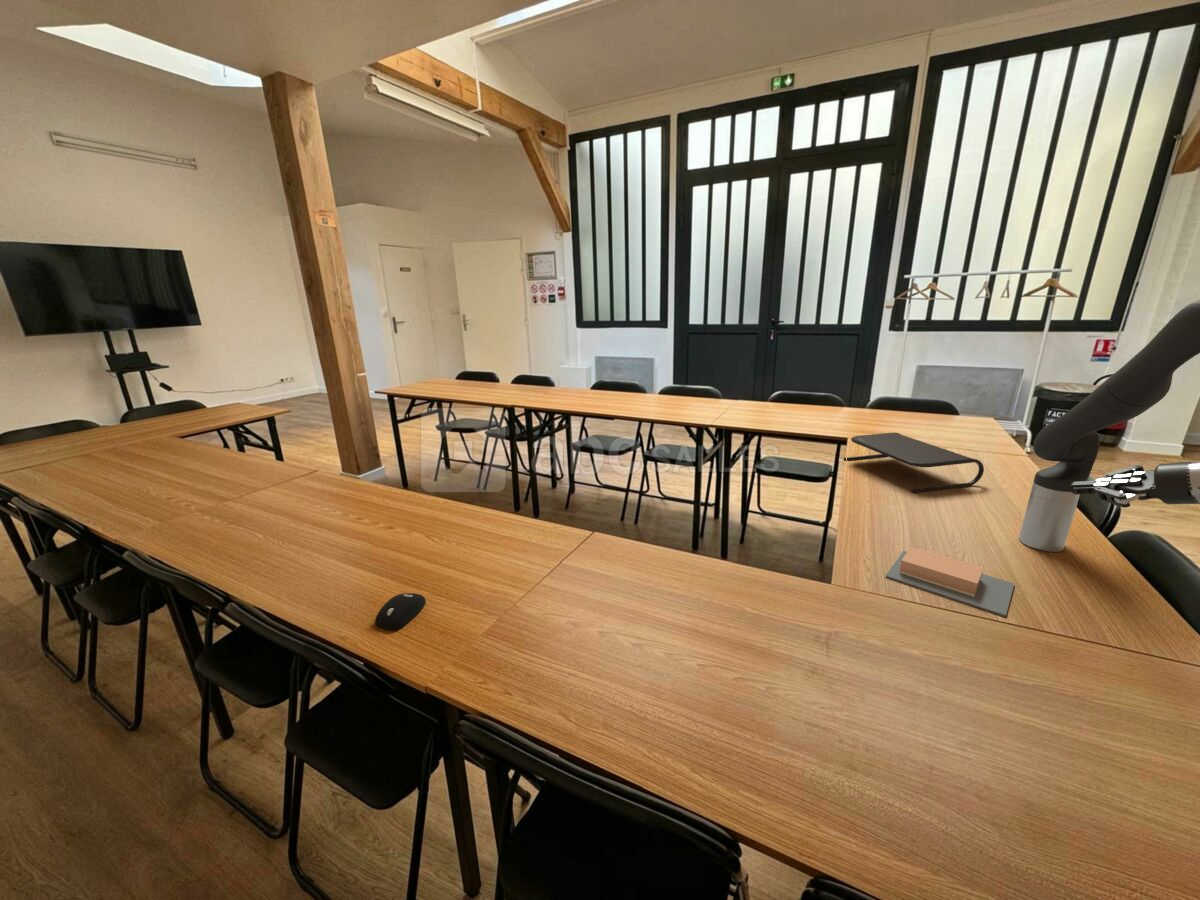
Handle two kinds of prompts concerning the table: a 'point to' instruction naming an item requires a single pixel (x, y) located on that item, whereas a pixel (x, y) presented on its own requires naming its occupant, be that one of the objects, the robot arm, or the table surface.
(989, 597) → the mat
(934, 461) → the monitor stand
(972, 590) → the peach rectangular block
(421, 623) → the table surface
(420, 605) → the computer mouse
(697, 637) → the table surface
